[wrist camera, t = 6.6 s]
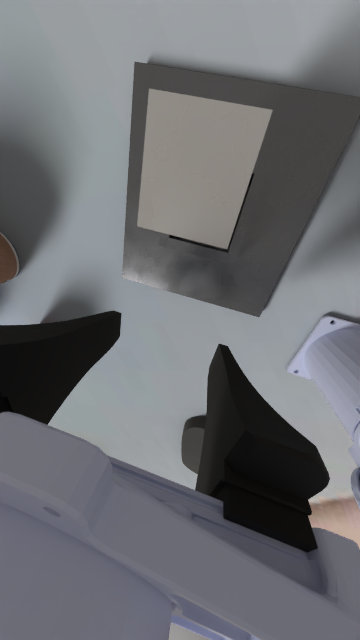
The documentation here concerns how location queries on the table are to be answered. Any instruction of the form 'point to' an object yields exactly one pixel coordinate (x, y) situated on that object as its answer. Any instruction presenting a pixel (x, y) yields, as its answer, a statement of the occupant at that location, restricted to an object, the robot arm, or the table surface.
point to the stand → (261, 195)
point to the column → (197, 165)
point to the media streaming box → (193, 442)
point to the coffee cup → (7, 260)
